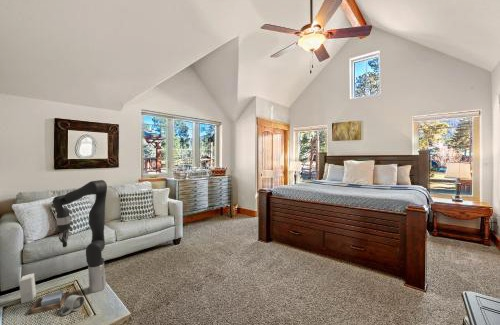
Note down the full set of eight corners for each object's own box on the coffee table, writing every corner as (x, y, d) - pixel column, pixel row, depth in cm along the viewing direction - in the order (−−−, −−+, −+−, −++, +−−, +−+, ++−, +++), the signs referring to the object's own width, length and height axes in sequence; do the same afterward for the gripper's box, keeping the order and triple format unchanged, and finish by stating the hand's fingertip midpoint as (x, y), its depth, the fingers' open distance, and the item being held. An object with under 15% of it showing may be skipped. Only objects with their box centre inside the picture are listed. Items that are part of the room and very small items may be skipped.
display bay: (67, 295, 153) (67, 291, 153) (60, 307, 141) (60, 303, 141) (39, 301, 147) (38, 297, 147) (29, 314, 135) (28, 310, 135)
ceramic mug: (75, 303, 145) (74, 291, 145) (85, 305, 143) (84, 293, 142) (57, 314, 135) (56, 302, 135) (67, 317, 133) (66, 304, 132)
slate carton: (63, 298, 151) (63, 290, 151) (60, 305, 144) (60, 297, 143) (45, 302, 147) (45, 294, 146) (41, 310, 140) (41, 302, 139)
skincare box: (33, 300, 148) (31, 278, 147) (20, 304, 145) (18, 281, 144) (36, 294, 155) (34, 272, 154) (23, 297, 152) (22, 275, 151)
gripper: (66, 225, 161) (68, 249, 162) (72, 219, 173) (74, 242, 174) (53, 226, 158) (54, 251, 159) (60, 221, 170) (61, 244, 171)
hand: (64, 246), depth 166 cm, fingers closed
